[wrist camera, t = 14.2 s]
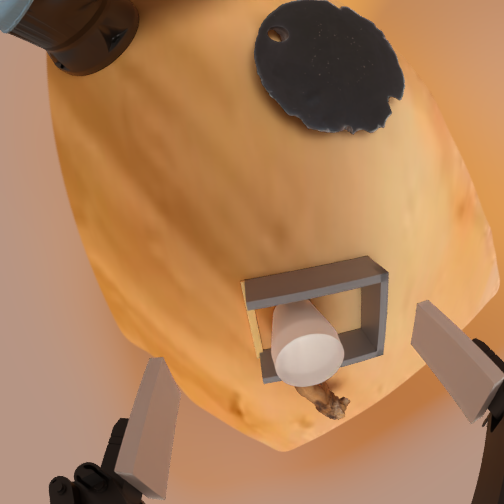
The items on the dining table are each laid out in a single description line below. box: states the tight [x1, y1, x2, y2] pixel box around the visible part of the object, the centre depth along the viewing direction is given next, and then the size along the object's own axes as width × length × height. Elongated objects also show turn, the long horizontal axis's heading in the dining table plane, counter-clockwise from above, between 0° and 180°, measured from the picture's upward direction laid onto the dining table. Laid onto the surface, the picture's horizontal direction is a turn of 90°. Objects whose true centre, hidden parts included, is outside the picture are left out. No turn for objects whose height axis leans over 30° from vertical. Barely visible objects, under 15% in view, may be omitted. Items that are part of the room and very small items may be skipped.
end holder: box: [240, 256, 388, 384], centre depth 39 cm, size 14×20×7 cm
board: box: [254, 0, 405, 135], centre depth 30 cm, size 22×22×5 cm
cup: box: [271, 299, 344, 387], centre depth 37 cm, size 9×9×12 cm
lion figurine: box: [295, 381, 350, 420], centre depth 43 cm, size 15×5×9 cm, turn 52°
